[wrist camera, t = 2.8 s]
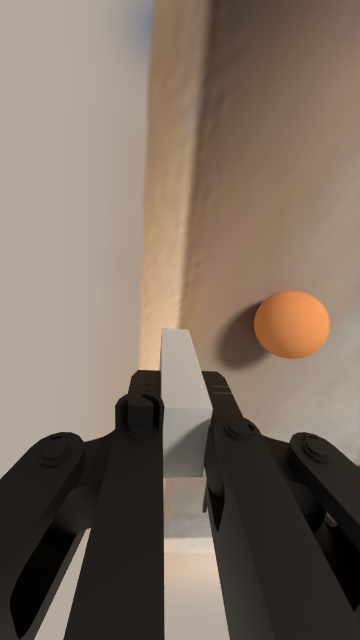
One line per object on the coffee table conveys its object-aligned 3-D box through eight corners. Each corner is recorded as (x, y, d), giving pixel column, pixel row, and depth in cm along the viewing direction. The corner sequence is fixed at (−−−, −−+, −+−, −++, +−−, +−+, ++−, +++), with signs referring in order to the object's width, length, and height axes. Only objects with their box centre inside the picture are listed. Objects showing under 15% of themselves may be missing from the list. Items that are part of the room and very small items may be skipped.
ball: (250, 282, 20) (281, 297, 15) (309, 287, 20) (359, 302, 15) (240, 339, 22) (264, 370, 17) (294, 342, 22) (334, 373, 17)
